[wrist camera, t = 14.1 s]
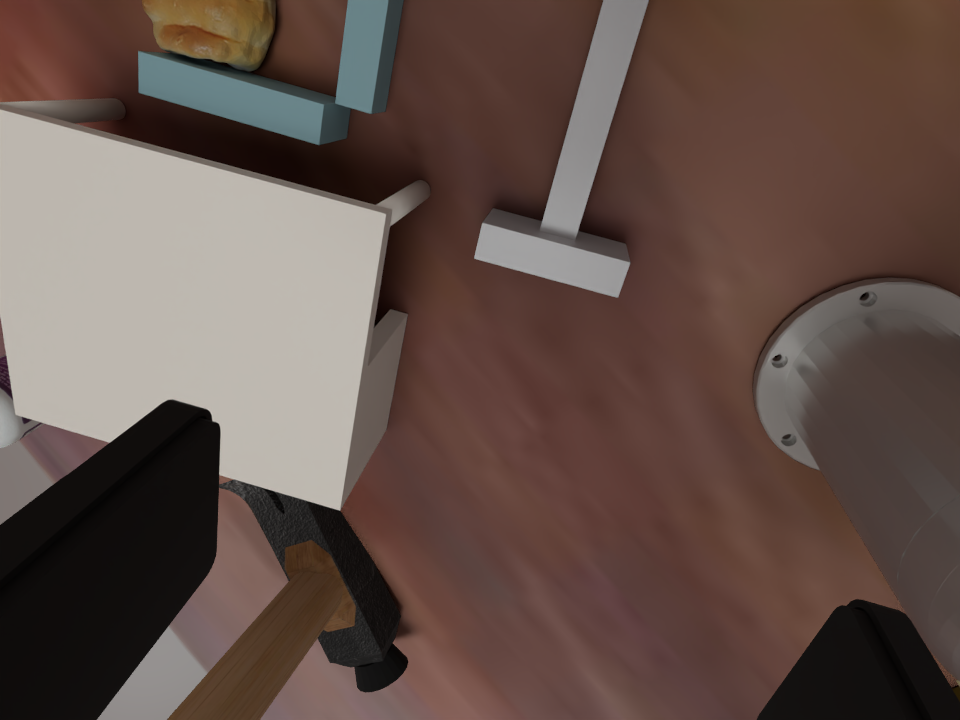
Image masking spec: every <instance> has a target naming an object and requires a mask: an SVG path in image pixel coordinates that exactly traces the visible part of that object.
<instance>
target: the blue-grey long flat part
mask: <svg viewBox="0 0 960 720" xmlns="http://www.w3.org/2000/svg"><path fill="white" fill-rule="evenodd" d="M403 1H404V0H348V5H347V13H346V21H345V29H344V37H343V45H342V53H341V60H340V68H339V76H338V84H337V92H336V97H333V96H329V95H326V94H322V93H319V92H315V91H312V90H308V89H305V88H301V87H298V86H294V85H291V84H287V83H284V82H280V81H277V80H273V79H270V78H266V77H263V76H259V75H256V74H252V73H249V72H246V71H242V70H237V69H235V68H232V67H228V66H225V65H221V64H218V63H214V62H211V61H207V60H204V59H197V58H191V57H189V56H186V55H182V54H181V55H176V54H173V53H158V52H143V51H138V66H139V93H141V94H145V95H148V96H152V97H155V98H159V99H162V100H165V101H169V102H172V103H176V104H179V105H183V106H186V107H190V108H193V109H196V110H200V111H203V112H207V113H210V114H214V115H217V116H221V117H224V118H227V119H231V120H234V121H238V122H241V123H245V124H248V125H252V126H255V127H258V128H262V129H265V130H269V131H272V132H276V133H279V134H283V135H286V136H289V137H293V138H296V139H300V140H303V141H307V142H310V143H314V144H317V145H321V144H326V143H330V142H334V141H338V140H342V139H346V138H347V133H348V125H349V118H350V111H351V108H352V109H356V110H359V111H363V112H366V113H370V114H374V113H380V112H385V111H386V105H387V99H388V93H389V87H390V81H391V74H392V68H393V62H394V56H395V50H396V44H397V38H398V32H399V26H400V19H401V13H402V7H403Z"/></svg>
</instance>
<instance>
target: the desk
mask: <svg viewBox="0 0 960 720" xmlns="http://www.w3.org/2000/svg"><path fill="white" fill-rule="evenodd" d="M125 114H126V109H125V106H124V104H123V103H122V102H121V101H120V100H119V99H116V98H104V99H78V100H51V101H25V102H0V317H1V324H2V330H3V337H4V343H5V350H6V356H7V363H8V369H9V376H10V382H11V389H12V396H13V402H14V409H15V415H18V416H21V417H25V418H28V419H32V420H35V421H38V422H42V423H45V424H49V425H52V426H55V427H59V428H62V429H65V430H69V431H72V432H76V433H79V434H82V435H86V436H89V437H93V438H96V439H99V440H103V441H106V442H109V443H110V442H112V441H113V440H114V439H115V438H117V437H118V436H119V435H121V434H122V433H123V432H125V431H126V430H127V429H129V428H130V427H131V426H133V425H134V424H135V423H137V422H138V421H139V420H140V419H142V418H143V417H144V416H146V415H147V414H148V413H150V412H151V411H152V410H154V409H155V408H156V407H158V406H159V405H160V404H161V403H163V402H165V401H167V400H171V399H173V400H177V401H180V402H184V403H187V404H191V405H194V406H197V407H201V408H204V409H207V410H209V411H210V413H211V415H212V421H214V422H217V423H218V424H219V425H220V429H221V437H220V466H219V475H221V476H224V477H228V478H231V479H235V480H238V481H241V482H245V483H248V484H252V485H255V486H258V487H262V488H265V489H268V490H272V491H275V492H279V493H282V494H285V495H289V496H292V497H295V498H299V499H302V500H306V501H309V502H312V503H316V504H319V505H323V506H326V507H329V508H333V509H336V510H339V511H340V510H341V508H342V506H343V505H344V503H345V501H346V499H347V498H348V496H349V494H350V492H351V491H352V489H353V487H354V485H355V484H356V482H357V480H358V478H359V477H360V475H361V473H362V471H363V470H364V468H365V466H366V464H367V463H368V461H369V459H370V457H371V456H372V454H373V452H374V450H375V449H376V447H377V445H378V444H379V442H380V440H381V438H382V437H383V435H384V433H385V431H386V429H387V424H388V419H389V413H390V408H391V402H392V397H393V392H394V386H395V381H396V376H397V370H398V365H399V360H400V354H401V349H402V343H403V338H404V333H405V327H406V322H407V317H408V314H406V313H402V312H399V311H395V310H392V309H390V310H389V311H388V312H387V314H386V315H385V316H384V317H383V318H382V319H381V321H380V322H379V323H378V324H377V325H376V326H375V328H374V323H375V317H376V311H377V304H378V298H379V292H380V286H381V279H382V273H383V267H384V261H385V254H386V248H387V242H388V236H389V229H390V226H392V225H393V224H394V223H396V222H397V221H398V220H400V219H401V218H402V217H404V216H405V215H406V214H408V213H409V212H410V211H412V210H413V209H414V208H416V207H417V206H418V205H420V204H421V203H422V202H424V201H425V200H426V199H428V198H429V196H430V193H431V189H430V186H429V185H428V183H427V182H425V181H423V180H417V181H415V182H414V183H412V184H410V185H409V186H407V187H405V188H403V189H402V190H400V191H398V192H397V193H395V194H393V195H392V196H390V197H388V198H387V199H385V200H383V201H381V202H380V203H378V204H376V205H374V204H370V203H366V202H363V201H359V200H355V199H351V198H348V197H344V196H340V195H337V194H333V193H329V192H326V191H322V190H318V189H314V188H311V187H307V186H303V185H300V184H296V183H292V182H289V181H285V180H281V179H277V178H274V177H270V176H266V175H263V174H259V173H255V172H252V171H248V170H244V169H241V168H237V167H233V166H229V165H226V164H222V163H218V162H215V161H211V160H207V159H204V158H200V157H196V156H192V155H189V154H185V153H181V152H178V151H174V150H170V149H167V148H163V147H159V146H155V145H152V144H148V143H144V142H141V141H137V140H133V139H130V138H126V137H122V136H118V135H115V134H111V133H107V132H104V131H100V130H96V129H93V128H89V127H85V126H82V125H78V124H74V123H86V122H98V121H109V120H121V119H123V118H124V117H125Z"/></svg>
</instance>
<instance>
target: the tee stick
mask: <svg viewBox="0 0 960 720" xmlns="http://www.w3.org/2000/svg"><path fill="white" fill-rule="evenodd" d="M648 1H649V0H603V4H602V7H601V11H600V14H599V18H598V22H597V25H596V29H595V32H594V36H593V40H592V43H591V47H590V51H589V54H588V58H587V61H586V65H585V69H584V72H583V76H582V79H581V83H580V87H579V90H578V94H577V98H576V101H575V105H574V108H573V112H572V116H571V119H570V123H569V126H568V130H567V134H566V137H565V141H564V144H563V148H562V152H561V155H560V159H559V163H558V166H557V170H556V173H555V177H554V181H553V184H552V188H551V191H550V195H549V199H548V202H547V206H546V209H545V213H544V217H543V220H542V221H539V220H536V219H532V218H528V217H524V216H521V215H517V214H513V213H509V212H506V211H502V210H498V209H495V208H493V209H492V210H491V212H490V213H489V214H488V216H487V217H486V218H485V220H484V221H483V223H482V226H481V231H480V235H479V239H478V244H477V248H476V252H475V257H474V259H478V260H481V261H485V262H489V263H492V264H496V265H500V266H503V267H507V268H511V269H514V270H518V271H522V272H525V273H529V274H533V275H536V276H540V277H544V278H547V279H551V280H555V281H558V282H562V283H566V284H569V285H573V286H577V287H580V288H584V289H587V290H591V291H595V292H598V293H602V294H606V295H609V296H613V297H617V298H618V296H619V293H620V290H621V288H622V285H623V282H624V279H625V276H626V274H627V271H628V268H629V265H630V259H629V255H628V250H627V246H626V244H625V243H621V242H617V241H614V240H610V239H606V238H603V237H599V236H595V235H591V234H588V233H584V232H580V231H578V229H579V226H580V223H581V219H582V216H583V213H584V210H585V206H586V203H587V200H588V197H589V193H590V190H591V187H592V184H593V180H594V177H595V174H596V171H597V167H598V164H599V161H600V158H601V154H602V151H603V148H604V144H605V141H606V138H607V135H608V131H609V128H610V125H611V122H612V118H613V115H614V112H615V109H616V105H617V102H618V99H619V96H620V92H621V89H622V86H623V83H624V79H625V76H626V73H627V70H628V66H629V63H630V60H631V56H632V53H633V50H634V47H635V43H636V40H637V37H638V34H639V30H640V27H641V24H642V21H643V17H644V14H645V11H646V8H647V4H648Z"/></svg>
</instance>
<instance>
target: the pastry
mask: <svg viewBox="0 0 960 720" xmlns="http://www.w3.org/2000/svg"><path fill="white" fill-rule="evenodd" d="M142 5H143V8H144V10H145V12H146V13H147V15H148V16H149V17H150V18H151V20H152V22H153V25H154V26H153V33H154V36H155V38H156V41H157V43H158V45H159V46H160V48H161V49H163V50H165V51H167V52H170V53H173V54H176V55H181V54H182V55H186V56H189V57H191V58H197V59H212V60H214V61H216V62H225V63H228V64H229V65H231V66H232V67H234V68H235V69H237V70H244V71H247V72H249V71H253V70H256V69H258V68H259V66H260V65H261V63H262V61H263V60H264V58H265V56H266V53H267V50H268V47H269V45H270V42H271V39H272V37H273V34H274V31H275V13H276V1H275V0H142Z"/></svg>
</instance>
